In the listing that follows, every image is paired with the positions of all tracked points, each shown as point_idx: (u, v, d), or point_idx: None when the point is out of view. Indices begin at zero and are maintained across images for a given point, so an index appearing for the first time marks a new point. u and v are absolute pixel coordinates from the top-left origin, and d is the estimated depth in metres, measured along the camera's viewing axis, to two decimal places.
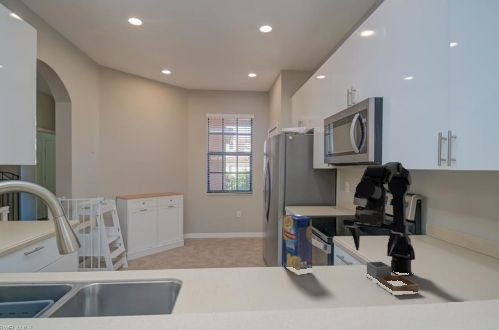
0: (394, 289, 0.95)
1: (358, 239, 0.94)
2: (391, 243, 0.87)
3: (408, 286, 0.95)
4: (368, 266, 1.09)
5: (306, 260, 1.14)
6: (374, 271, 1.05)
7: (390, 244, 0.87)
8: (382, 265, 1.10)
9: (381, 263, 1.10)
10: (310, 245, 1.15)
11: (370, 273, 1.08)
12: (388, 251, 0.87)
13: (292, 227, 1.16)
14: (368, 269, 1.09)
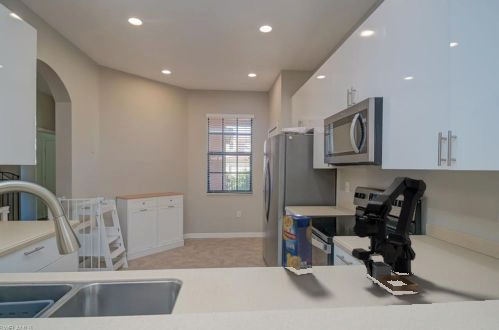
0: (394, 289, 0.95)
1: None
2: None
3: (408, 286, 0.95)
4: None
5: (306, 260, 1.14)
6: (374, 271, 1.05)
7: None
8: (382, 265, 1.10)
9: (381, 263, 1.10)
10: (310, 245, 1.15)
11: None
12: None
13: (292, 227, 1.16)
14: None
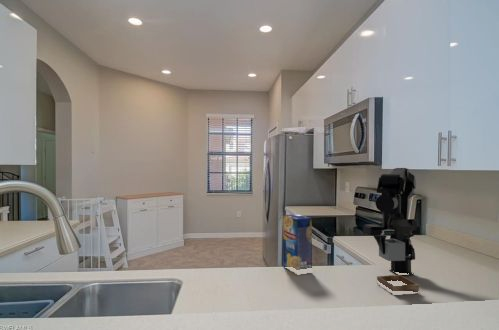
0: (394, 289, 0.95)
1: None
2: None
3: (408, 286, 0.95)
4: None
5: (306, 260, 1.14)
6: (387, 247, 0.99)
7: None
8: (395, 242, 1.04)
9: (394, 240, 1.04)
10: (310, 245, 1.15)
11: None
12: None
13: (292, 227, 1.16)
14: None
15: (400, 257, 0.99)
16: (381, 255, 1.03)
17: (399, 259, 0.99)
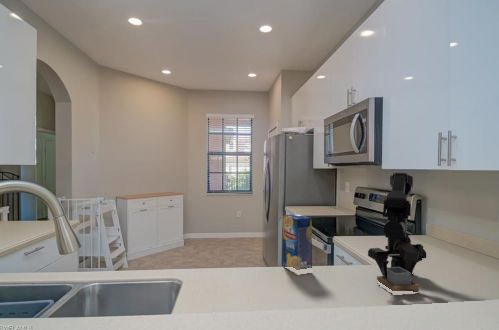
0: (394, 289, 0.95)
1: None
2: (413, 267, 1.00)
3: (408, 286, 0.95)
4: None
5: (306, 260, 1.14)
6: (393, 277, 0.97)
7: (412, 268, 1.00)
8: (400, 271, 1.02)
9: (399, 269, 1.03)
10: (310, 245, 1.15)
11: (388, 279, 1.00)
12: None
13: (292, 227, 1.16)
14: None
15: None
16: None
17: None
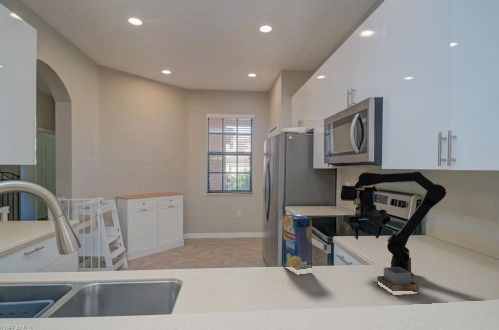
0: (394, 289, 0.95)
1: None
2: (380, 229, 1.22)
3: (408, 286, 0.95)
4: (385, 272, 1.01)
5: (306, 260, 1.14)
6: (393, 277, 0.97)
7: (380, 230, 1.22)
8: (400, 271, 1.02)
9: (399, 269, 1.03)
10: (310, 245, 1.15)
11: (388, 279, 1.00)
12: (378, 235, 1.22)
13: (292, 227, 1.16)
14: (385, 275, 1.01)
15: None
16: None
17: None
